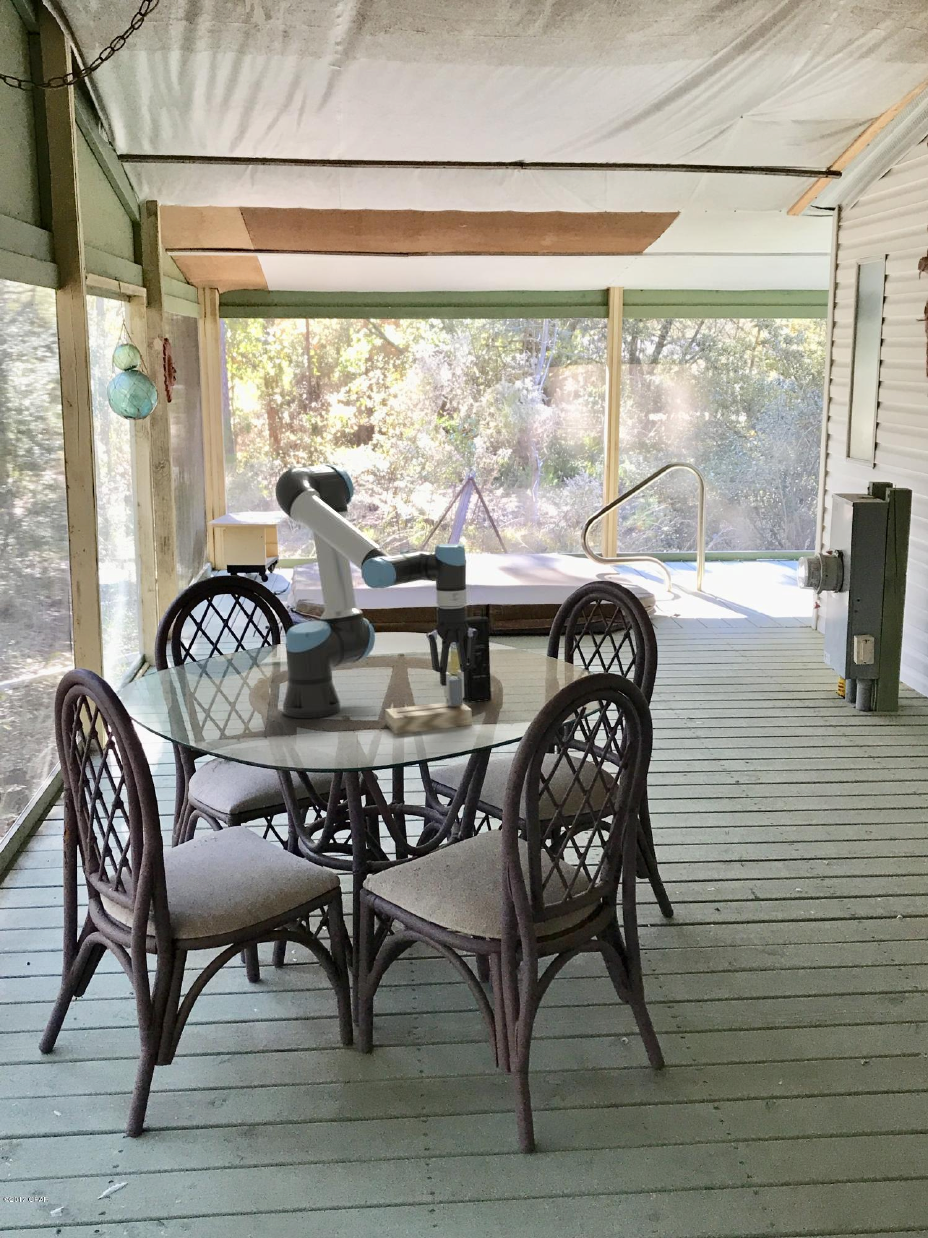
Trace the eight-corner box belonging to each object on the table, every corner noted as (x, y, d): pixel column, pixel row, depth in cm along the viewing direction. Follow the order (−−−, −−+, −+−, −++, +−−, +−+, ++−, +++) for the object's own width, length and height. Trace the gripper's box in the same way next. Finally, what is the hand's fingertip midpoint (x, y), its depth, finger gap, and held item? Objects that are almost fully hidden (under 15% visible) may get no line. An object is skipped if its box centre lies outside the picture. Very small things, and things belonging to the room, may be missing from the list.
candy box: (473, 669, 351) (471, 619, 348) (482, 671, 348) (480, 621, 345) (450, 674, 345) (449, 623, 343) (459, 676, 342) (457, 625, 339)
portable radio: (466, 703, 311) (463, 612, 306) (457, 698, 316) (455, 609, 312) (492, 700, 314) (490, 609, 309) (483, 695, 319) (481, 606, 315)
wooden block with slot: (395, 733, 284) (394, 717, 284) (386, 724, 293) (385, 708, 292) (471, 724, 291) (471, 708, 290) (460, 716, 299) (460, 700, 298)
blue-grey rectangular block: (451, 707, 291) (450, 680, 289) (446, 703, 294) (445, 677, 293) (462, 706, 292) (461, 679, 290) (457, 702, 295) (456, 675, 294)
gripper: (425, 611, 282) (428, 703, 287) (487, 605, 287) (488, 697, 292) (416, 606, 289) (419, 696, 294) (477, 601, 294) (479, 690, 299)
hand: (454, 696), depth 293 cm, fingers closed on blue-grey rectangular block, 3 cm apart
